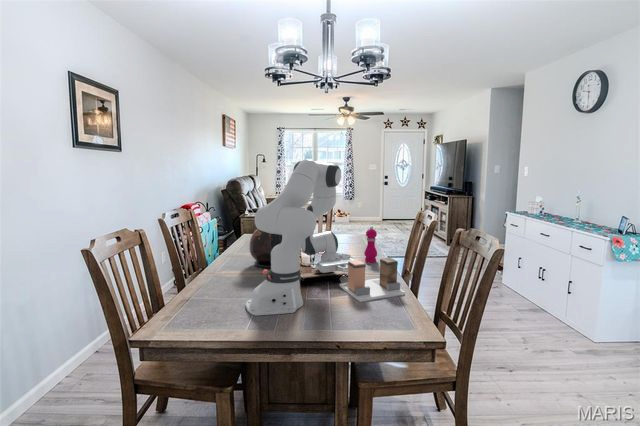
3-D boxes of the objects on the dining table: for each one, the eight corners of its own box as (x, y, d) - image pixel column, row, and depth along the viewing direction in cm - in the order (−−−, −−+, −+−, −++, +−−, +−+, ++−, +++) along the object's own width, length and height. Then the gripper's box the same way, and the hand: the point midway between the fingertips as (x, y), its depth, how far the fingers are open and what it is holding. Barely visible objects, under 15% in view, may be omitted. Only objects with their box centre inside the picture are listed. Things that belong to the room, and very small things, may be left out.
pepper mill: (376, 263, 197) (377, 228, 194) (363, 262, 199) (364, 227, 196) (377, 259, 204) (378, 225, 201) (364, 259, 206) (365, 225, 203)
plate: (359, 301, 144) (359, 291, 143) (339, 286, 161) (339, 277, 161) (405, 294, 152) (405, 285, 152) (381, 280, 170) (381, 271, 169)
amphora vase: (297, 266, 190) (296, 215, 186) (259, 274, 178) (258, 218, 174) (278, 257, 208) (277, 210, 203) (243, 263, 196) (242, 213, 191)
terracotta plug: (354, 292, 150) (354, 264, 148) (347, 287, 156) (348, 261, 154) (364, 290, 152) (365, 263, 150) (358, 286, 158) (358, 259, 156)
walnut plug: (386, 289, 154) (387, 262, 152) (379, 284, 160) (380, 258, 158) (396, 287, 156) (397, 261, 154) (389, 283, 162) (390, 257, 160)
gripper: (314, 257, 172) (325, 266, 159) (352, 253, 179) (365, 261, 166) (314, 270, 173) (325, 279, 160) (351, 265, 180) (365, 274, 167)
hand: (346, 270), depth 163 cm, fingers closed
